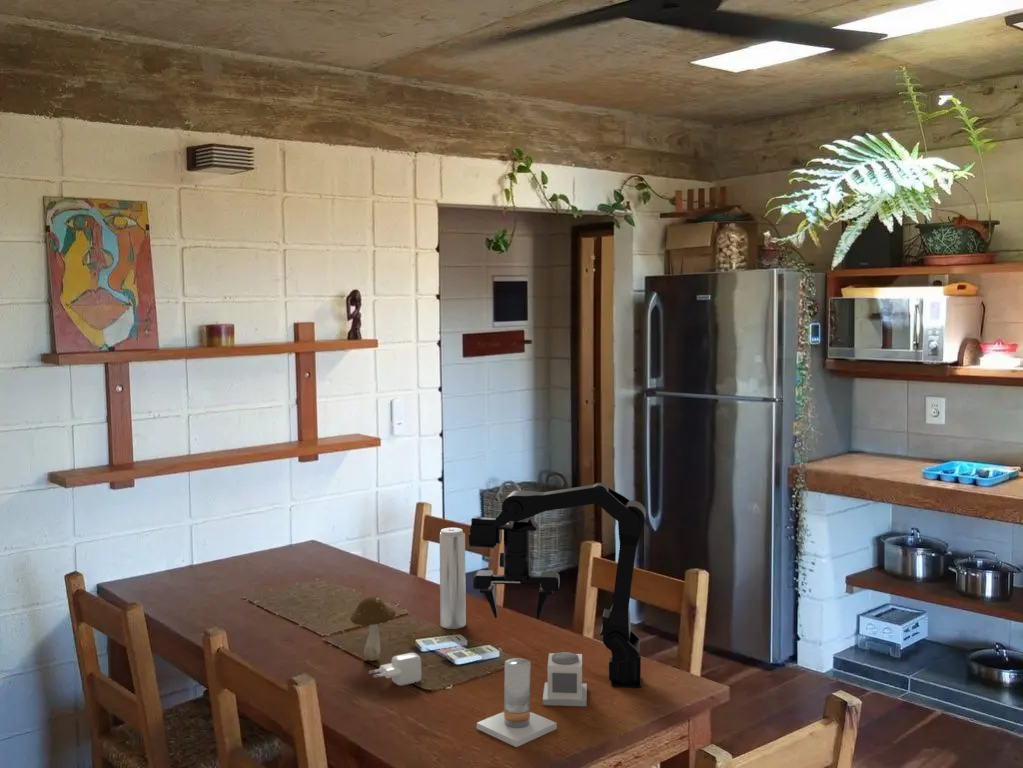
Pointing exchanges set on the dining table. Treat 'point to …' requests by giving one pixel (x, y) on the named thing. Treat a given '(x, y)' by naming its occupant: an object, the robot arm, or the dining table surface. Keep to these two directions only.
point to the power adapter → (401, 669)
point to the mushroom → (372, 622)
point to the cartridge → (517, 693)
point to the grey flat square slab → (516, 729)
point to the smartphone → (449, 650)
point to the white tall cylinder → (452, 578)
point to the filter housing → (565, 680)
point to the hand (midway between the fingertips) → (516, 618)
